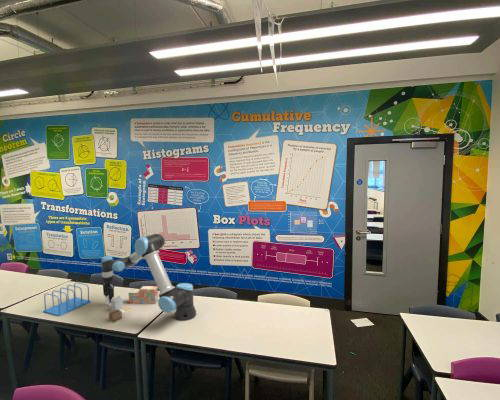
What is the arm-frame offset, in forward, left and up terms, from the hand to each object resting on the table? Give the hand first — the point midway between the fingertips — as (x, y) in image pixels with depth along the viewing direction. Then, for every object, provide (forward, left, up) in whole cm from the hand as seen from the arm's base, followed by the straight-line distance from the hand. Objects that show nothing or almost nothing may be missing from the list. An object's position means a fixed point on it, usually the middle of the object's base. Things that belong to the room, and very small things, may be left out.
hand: (109, 304), depth 211 cm
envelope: (-15, +1, 0) cm, 15 cm away
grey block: (-12, 0, 0) cm, 12 cm away
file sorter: (+23, +20, -1) cm, 30 cm away
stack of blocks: (-18, -19, -1) cm, 26 cm away
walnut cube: (-26, +9, 0) cm, 28 cm away
